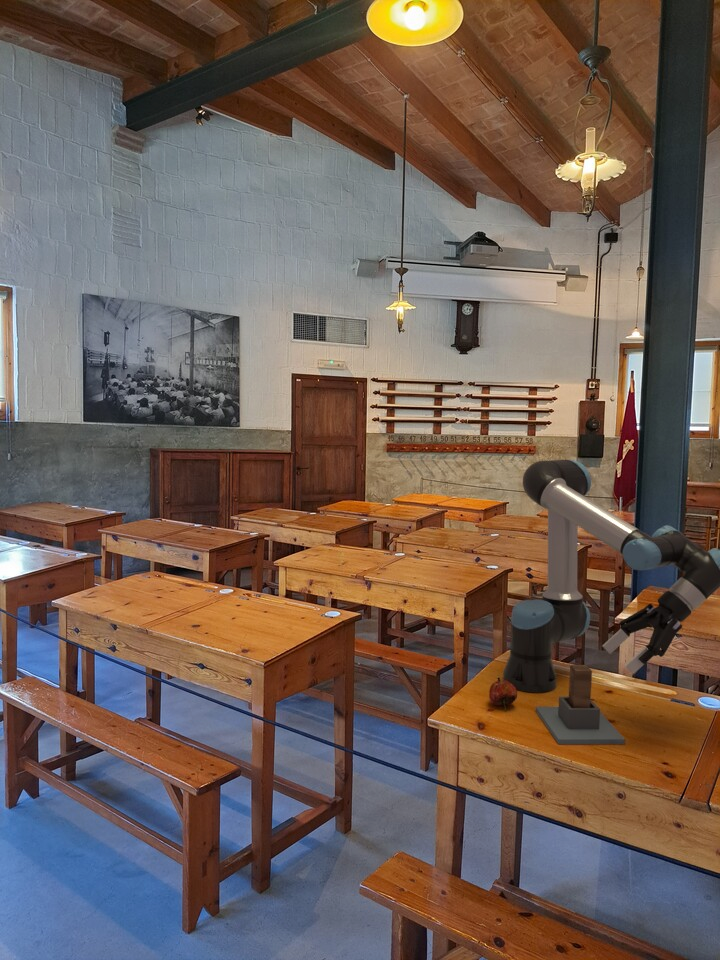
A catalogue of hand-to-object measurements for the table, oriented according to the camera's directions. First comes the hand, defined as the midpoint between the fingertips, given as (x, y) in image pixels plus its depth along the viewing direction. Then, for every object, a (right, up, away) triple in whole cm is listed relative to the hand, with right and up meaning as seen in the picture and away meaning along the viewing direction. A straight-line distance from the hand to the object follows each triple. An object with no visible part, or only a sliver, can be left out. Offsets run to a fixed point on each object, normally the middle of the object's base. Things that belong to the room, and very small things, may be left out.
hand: (616, 659), depth 166 cm
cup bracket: (-9, -17, +2) cm, 20 cm away
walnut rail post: (-9, -16, +2) cm, 18 cm away
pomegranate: (-26, -16, +13) cm, 33 cm away
